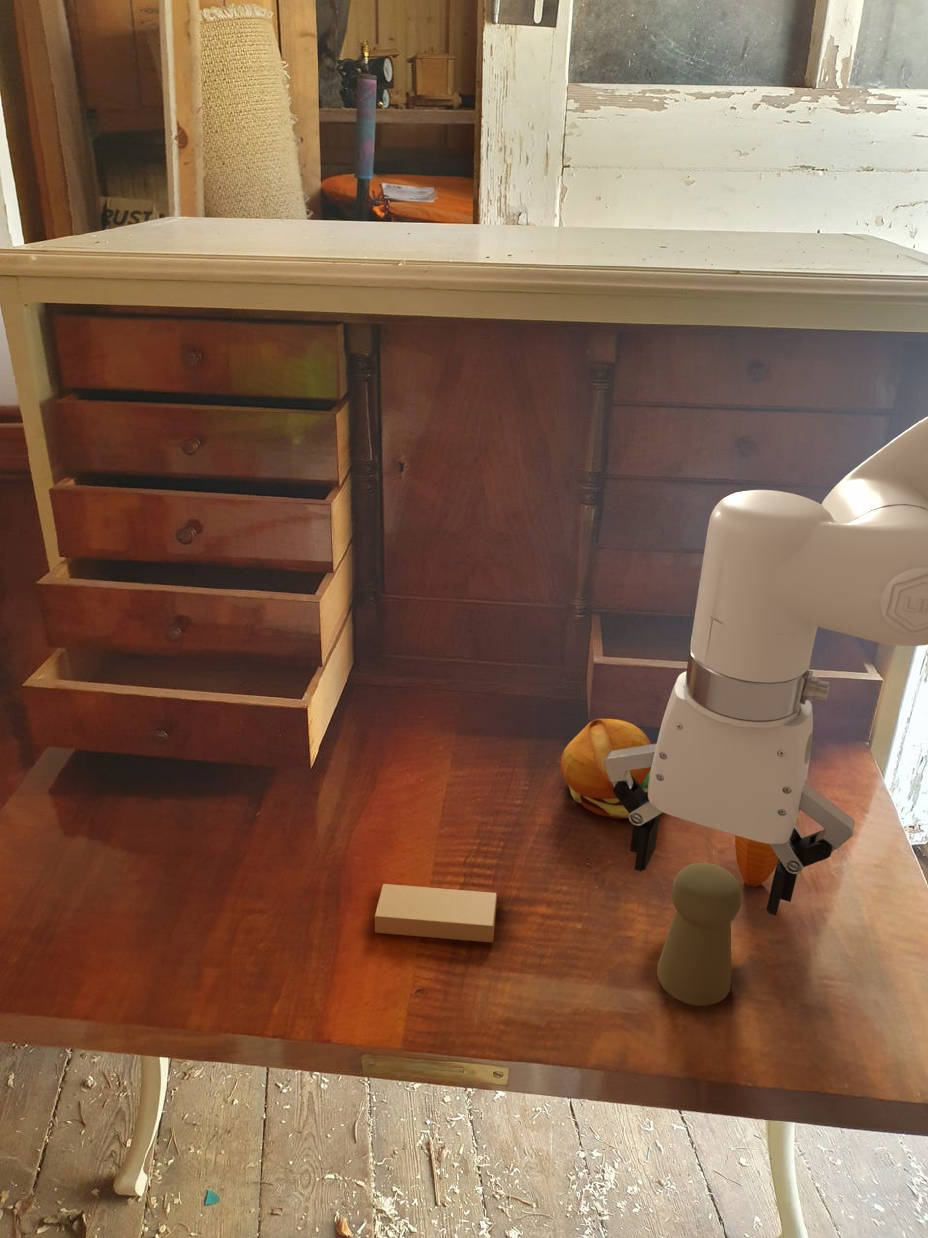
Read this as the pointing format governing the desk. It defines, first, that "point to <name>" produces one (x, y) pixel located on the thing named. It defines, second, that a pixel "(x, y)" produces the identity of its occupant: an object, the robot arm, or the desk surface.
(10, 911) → the desk surface
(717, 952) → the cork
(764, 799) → the robot arm
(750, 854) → the carrot
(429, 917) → the beige rectangular eraser
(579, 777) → the cheeseburger
